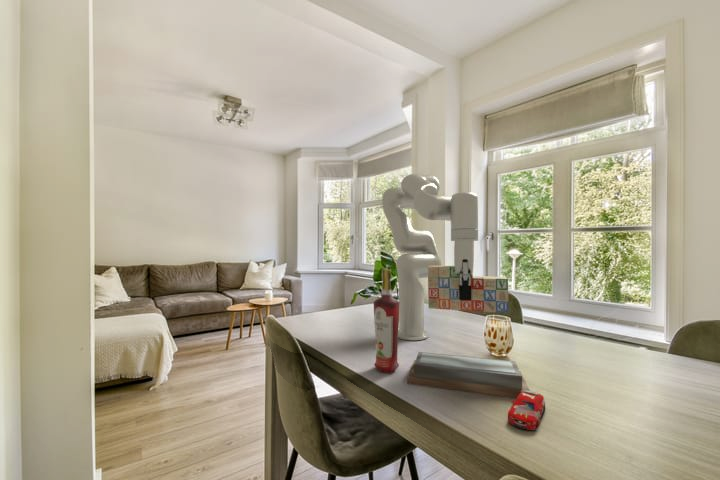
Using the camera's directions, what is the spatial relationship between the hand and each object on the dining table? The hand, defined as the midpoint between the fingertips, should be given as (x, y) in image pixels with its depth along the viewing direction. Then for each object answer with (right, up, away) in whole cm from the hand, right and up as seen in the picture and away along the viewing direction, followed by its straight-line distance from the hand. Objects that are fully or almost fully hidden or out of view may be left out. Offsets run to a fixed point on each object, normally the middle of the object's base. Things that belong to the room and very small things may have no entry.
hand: (464, 297), depth 93 cm
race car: (+4, -20, -27) cm, 34 cm away
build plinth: (-3, -20, -10) cm, 22 cm away
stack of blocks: (+1, -3, 0) cm, 4 cm away
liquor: (-23, -20, -2) cm, 30 cm away
